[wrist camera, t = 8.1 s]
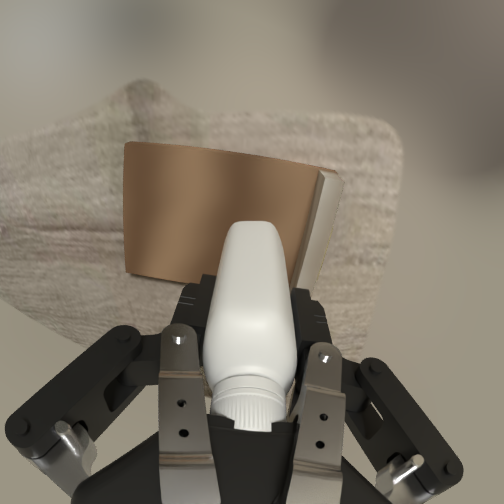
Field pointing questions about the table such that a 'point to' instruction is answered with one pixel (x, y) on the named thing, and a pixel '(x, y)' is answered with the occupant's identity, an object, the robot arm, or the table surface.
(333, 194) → the walnut shelf board
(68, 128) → the table surface
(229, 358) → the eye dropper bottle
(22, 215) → the table surface
